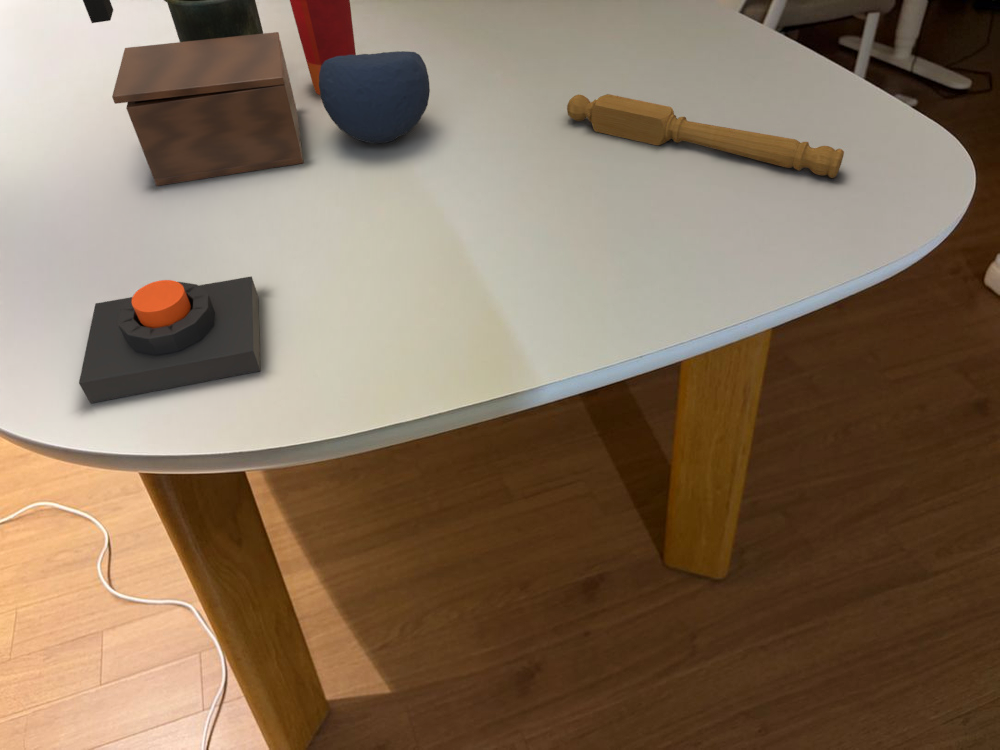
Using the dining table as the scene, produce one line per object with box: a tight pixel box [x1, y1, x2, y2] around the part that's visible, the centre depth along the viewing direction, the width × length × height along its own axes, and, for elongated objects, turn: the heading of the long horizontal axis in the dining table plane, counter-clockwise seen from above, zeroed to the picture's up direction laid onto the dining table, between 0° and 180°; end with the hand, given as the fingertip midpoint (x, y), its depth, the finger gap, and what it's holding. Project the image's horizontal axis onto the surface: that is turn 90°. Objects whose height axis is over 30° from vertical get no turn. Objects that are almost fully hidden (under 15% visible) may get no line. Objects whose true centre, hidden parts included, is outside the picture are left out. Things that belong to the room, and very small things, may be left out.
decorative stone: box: [319, 50, 431, 145], centre depth 88 cm, size 12×12×10 cm
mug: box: [163, 0, 264, 42], centre depth 100 cm, size 11×15×12 cm
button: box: [131, 279, 191, 328], centre depth 63 cm, size 4×4×2 cm
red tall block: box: [289, 0, 357, 96], centre depth 96 cm, size 8×8×14 cm
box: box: [125, 40, 304, 187], centre depth 88 cm, size 16×13×9 cm
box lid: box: [111, 31, 284, 104], centre depth 84 cm, size 16×13×1 cm
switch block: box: [78, 276, 261, 404], centre depth 65 cm, size 13×10×4 cm
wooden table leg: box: [566, 93, 845, 179], centre depth 85 cm, size 3×3×30 cm
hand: (102, 16), depth 67 cm, fingers closed
